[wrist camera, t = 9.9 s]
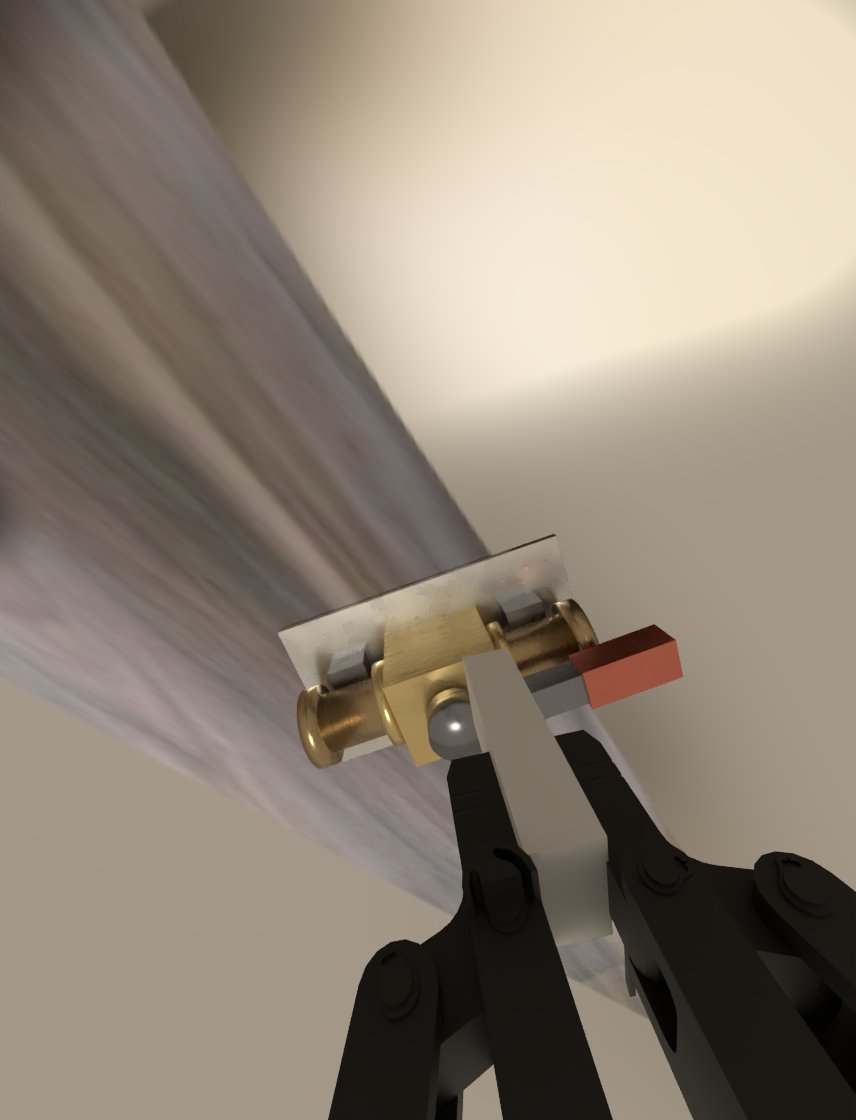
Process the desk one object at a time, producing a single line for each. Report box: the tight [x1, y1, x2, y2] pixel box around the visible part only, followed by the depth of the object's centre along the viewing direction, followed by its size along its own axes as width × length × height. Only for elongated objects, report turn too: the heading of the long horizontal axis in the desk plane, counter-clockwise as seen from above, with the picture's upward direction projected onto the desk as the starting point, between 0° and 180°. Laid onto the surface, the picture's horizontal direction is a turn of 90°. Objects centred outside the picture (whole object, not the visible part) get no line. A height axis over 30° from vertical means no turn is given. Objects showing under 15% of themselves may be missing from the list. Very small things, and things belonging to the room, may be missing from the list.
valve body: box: [278, 534, 599, 769], centre depth 33 cm, size 24×14×8 cm, turn 109°
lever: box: [426, 625, 683, 761], centre depth 27 cm, size 16×4×2 cm, turn 110°
